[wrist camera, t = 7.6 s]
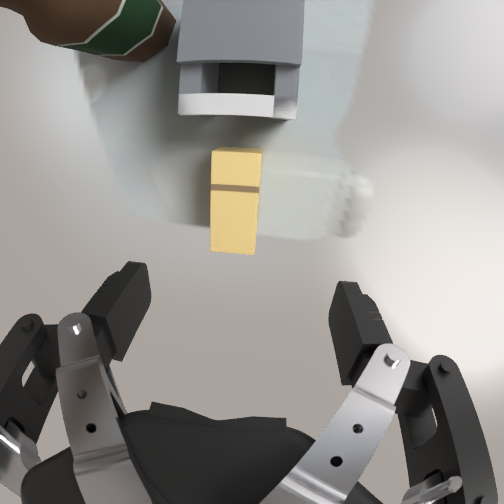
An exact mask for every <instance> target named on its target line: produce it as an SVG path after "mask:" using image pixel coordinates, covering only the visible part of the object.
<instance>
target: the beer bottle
mask: <svg viewBox="0 0 504 504" xmlns="http://www.w3.org/2000/svg"><path fill="white" fill-rule="evenodd" d="M0 7H4V8H8V9H11V10H13V11H15V12H17V13H19V14H21V15H23V16H24V19H25V21H26V23H27V25H28V28H29V30H30V32H31V33H32V34H33V35H34V36H35V37H36V38H38V39H39V40H40V41H41V42H44V43H47V44H51V45H55V46H59V47H64V48H69V49H74V50H78V51H83V52H87V53H91V54H95V55H99V56H103V57H107V58H110V59H115V60H123V61H145V60H147V59H148V58H149V57H151V56H152V55H154V54H155V53H157V52H158V51H159V50H161V49H162V48H164V47H165V46H167V45H168V42H169V39H170V36H171V34H172V31H173V28H174V25H175V23H176V20H175V19H174V17H173V16H172V14H171V13H170V12H169V10H168V9H167V7H166V6H165V5H164V3H163V2H162V1H161V0H0Z"/></svg>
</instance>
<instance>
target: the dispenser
mask: <svg viewBox="0 0 504 504" xmlns="http://www.w3.org/2000/svg"><path fill="white" fill-rule="evenodd" d="M303 24H304V0H184V2H183V9H182V16H181V24H180V32H179V41H178V51H177V62H178V63H179V64H181V68H180V82H179V99H178V115H191V116H216V115H241V116H259V117H271V119H282V120H296V110H297V97H298V83H299V69H300V66H301V61H302V44H303ZM220 63H260V64H274V65H275V72H274V87H273V96H271V95H257V94H234V93H218V79H219V65H220Z"/></svg>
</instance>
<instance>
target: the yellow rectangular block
mask: <svg viewBox="0 0 504 504" xmlns="http://www.w3.org/2000/svg"><path fill="white" fill-rule="evenodd" d="M262 150H263V149H261V148H245V147H225V146H220V147H219V148H217V149H215V150H213V151H212V160H211V210H210V251H213V252H225V253H238V254H251V255H254V253H255V241H256V231H257V218H258V204H259V191H260V177H261V164H262Z"/></svg>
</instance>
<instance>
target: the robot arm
mask: <svg viewBox="0 0 504 504" xmlns="http://www.w3.org/2000/svg"><path fill="white" fill-rule="evenodd" d="M150 302H151V289H150V283H149V276H148V270H147V266H146V264H145V263H140V262H131V261H129V262H127V263H126V265H125V266H124V267H123V268H122V270H121V271H120V272H119V271H117V272H115V273H114V274H112V275H111V276H109V277H108V278H107V279H106V280H105V281H104V283H103V284H102V286H101V287H100V288H99V289H98V290H97V292H96V293H95V294H94V296H93V297H92V298H91V300H90V301H89V302H88V303H87V305H86V306H85V308H84V309H83V310H82V312H81V313H72V314H69V315H67V316H66V317H64V318H63V319H62V320H61V321H60V322H59V324H56V325H55V324H54V325H44V323H43V321H42V319H41V317H40V316H39V315H37V314H27V315H24V316H23V317H21V318H20V319H19V320H18V321H17V322H16V323H15V325H14V326H13V327H12V329H11V330H10V332H9V333H8V335H7V336H6V337H5V339H4V340H3V341H2V343H1V344H0V483H1V484H3V485H4V486H5V487H7V488H8V489H10V490H11V491H12V492H14V493H15V494H17V495H18V496H20V497H21V501H22V504H383V503H382V502H381V501H379V500H378V499H377V498H376V497H375V496H374V495H372V494H371V493H370V492H369V491H368V490H367V489H366V488H365V487H364V486H363V485H361V484H360V483H359V482H358V479H359V478H360V476H361V474H362V473H363V471H364V470H365V468H366V466H367V465H368V463H369V461H370V460H371V458H372V456H373V454H374V453H375V451H376V449H377V447H378V445H379V443H380V441H381V439H382V438H383V436H384V434H385V432H386V430H387V428H388V426H389V424H390V421H391V419H392V417H393V415H394V413H396V414H398V418H399V423H400V428H401V433H402V439H403V444H404V450H405V456H406V462H407V468H408V476H409V484H410V489H408V490H407V492H406V493H405V495H404V497H403V500H402V503H401V504H497V503H498V494H497V488H496V483H495V478H494V473H493V468H492V464H491V460H490V456H489V452H488V448H487V445H486V441H485V438H484V434H483V431H482V428H481V425H480V422H479V419H478V416H477V413H476V410H475V408H474V405H473V402H472V400H471V397H470V394H469V392H468V389H467V387H466V384H465V382H464V379H463V377H462V375H461V372H460V370H459V368H458V366H457V364H456V363H455V362H454V361H453V360H452V359H451V358H449V357H447V356H444V355H436V356H434V357H433V358H432V359H431V361H430V362H429V363H428V364H426V363H421V362H417V361H412V360H410V357H409V355H408V354H407V352H406V351H405V350H404V349H403V348H401V347H399V346H397V345H394V344H393V342H392V340H391V337H390V335H389V333H388V330H387V328H386V326H385V324H384V321H383V320H382V317H381V314H380V313H379V310H378V308H377V306H376V304H375V302H374V301H373V300H372V299H371V298H370V297H369V296H368V295H366V294H362V292H361V290H360V288H359V285H358V283H357V282H347V281H339V282H338V284H337V287H336V290H335V293H334V297H333V300H332V304H331V307H330V310H329V327H330V331H331V336H332V340H333V344H334V349H335V354H336V359H337V363H338V368H339V373H340V378H341V383H342V385H352V390H351V392H350V394H349V395H348V397H347V398H346V400H345V401H344V403H343V404H342V406H341V407H340V409H339V410H338V411H337V413H336V414H335V416H334V417H333V419H332V420H331V421H330V423H329V424H328V426H327V427H326V429H325V430H324V431H323V432H322V434H321V435H320V436H319V437H318V439H317V440H314V439H313V438H312V437H310V436H309V435H307V434H305V433H303V432H301V431H299V430H296V429H293V428H290V427H286V418H271V417H245V418H237V419H228V420H213V419H210V418H207V417H205V416H202V415H199V414H197V413H194V412H192V411H189V410H187V409H185V408H181V407H176V406H170V405H165V404H160V403H156V402H152V403H151V406H150V409H149V410H142V411H135V412H131V413H127V411H126V409H125V407H124V405H123V402H122V400H121V397H120V394H119V391H118V388H117V386H116V383H115V380H114V377H113V374H112V371H111V368H110V366H109V364H110V362H111V360H112V359H114V360H117V361H122V360H123V358H124V356H125V354H126V352H127V350H128V348H129V346H130V344H131V342H132V340H133V338H134V336H135V333H136V331H137V329H138V327H139V325H140V324H141V321H142V320H143V318H144V316H145V314H146V312H147V310H148V308H149V306H150ZM30 361H32V363H33V364H34V366H35V367H34V369H33V370H32V372H31V374H30V376H29V378H28V380H27V382H26V384H25V385H24V387H23V385H22V376H23V374H24V372H25V370H26V369H27V367H28V365H29V363H30ZM57 392H59V398H60V404H61V409H62V414H63V419H64V423H65V427H66V431H67V435H68V439H69V443H70V447H68V448H66V449H65V450H63V451H61V452H59V453H58V454H56V455H54V456H52V457H50V458H48V459H46V460H44V461H43V462H41V459H40V457H39V456H38V450H37V446H36V443H37V441H38V438H39V435H40V433H41V430H42V427H43V425H44V423H45V420H46V418H47V415H48V413H49V410H50V408H51V406H52V404H53V401H54V399H55V397H56V394H57ZM432 408H433V410H434V413H435V416H436V420H437V427H436V423H435V419H434V416H433V412H432Z"/></svg>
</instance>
